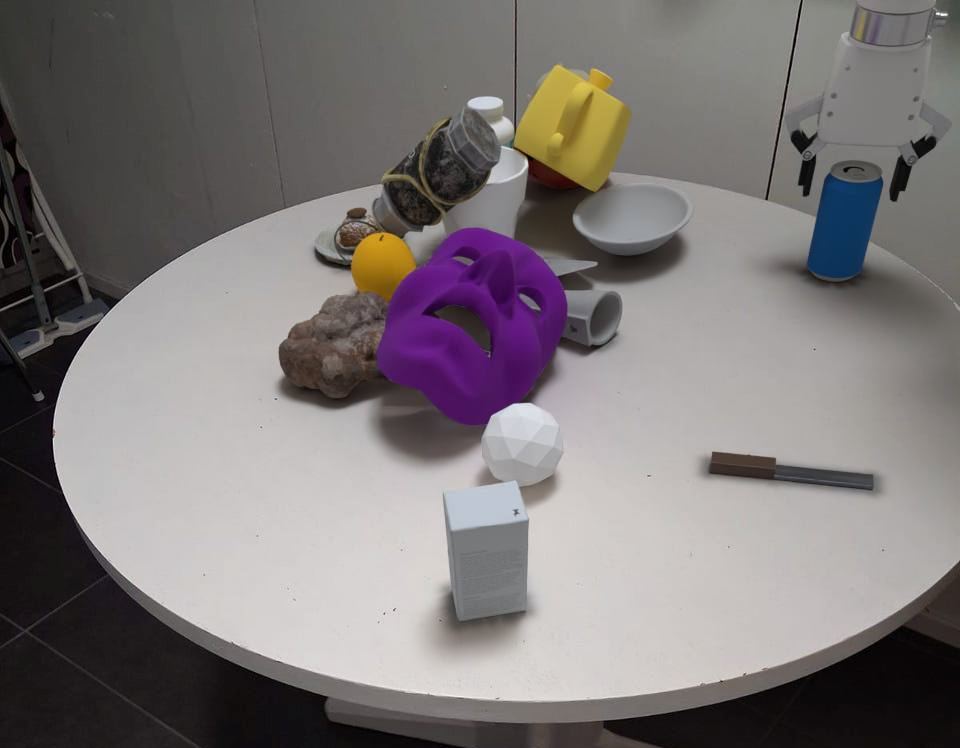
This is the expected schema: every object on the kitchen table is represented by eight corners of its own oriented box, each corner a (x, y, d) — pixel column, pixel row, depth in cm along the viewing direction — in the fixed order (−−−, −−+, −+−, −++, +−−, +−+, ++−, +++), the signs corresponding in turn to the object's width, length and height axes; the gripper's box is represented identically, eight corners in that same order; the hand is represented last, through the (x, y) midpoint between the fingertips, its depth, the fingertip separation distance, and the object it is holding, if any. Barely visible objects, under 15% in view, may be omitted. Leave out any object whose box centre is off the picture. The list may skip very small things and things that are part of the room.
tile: (603, 261, 114) (603, 265, 114) (550, 257, 122) (550, 261, 122) (464, 297, 105) (465, 301, 106) (417, 290, 114) (418, 294, 114)
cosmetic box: (516, 572, 82) (519, 478, 72) (527, 612, 80) (531, 520, 70) (448, 583, 82) (441, 489, 72) (456, 623, 80) (450, 532, 70)
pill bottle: (498, 223, 129) (494, 116, 119) (452, 213, 132) (445, 108, 122) (525, 201, 133) (523, 96, 123) (480, 192, 136) (475, 89, 126)
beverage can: (850, 257, 118) (875, 156, 109) (867, 282, 114) (894, 179, 105) (799, 261, 118) (819, 160, 109) (814, 286, 114) (836, 184, 105)
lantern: (458, 85, 105) (323, 217, 121) (449, 126, 101) (310, 257, 117) (511, 143, 110) (374, 263, 126) (504, 184, 106) (364, 302, 122)
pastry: (401, 266, 122) (397, 230, 119) (309, 269, 123) (303, 234, 119) (408, 224, 130) (404, 190, 127) (322, 228, 131) (316, 194, 127)
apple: (355, 282, 120) (345, 223, 114) (417, 276, 120) (410, 217, 115) (356, 314, 115) (346, 254, 109) (420, 308, 115) (414, 247, 109)
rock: (429, 363, 113) (422, 275, 108) (458, 388, 104) (453, 292, 98) (277, 383, 109) (263, 292, 104) (293, 412, 99) (278, 313, 94)
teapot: (529, 151, 130) (571, 62, 125) (607, 196, 130) (652, 109, 125) (499, 138, 113) (547, 33, 107) (589, 191, 113) (641, 88, 107)
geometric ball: (578, 405, 85) (562, 492, 86) (560, 416, 93) (545, 496, 94) (497, 387, 84) (480, 476, 85) (485, 400, 92) (470, 482, 93)
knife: (872, 477, 89) (875, 467, 88) (872, 489, 88) (876, 479, 87) (710, 461, 92) (712, 451, 91) (709, 472, 91) (710, 462, 90)
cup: (444, 229, 129) (437, 143, 120) (535, 231, 127) (534, 144, 119) (426, 274, 120) (417, 185, 112) (523, 276, 119) (521, 186, 110)
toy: (521, 85, 138) (518, 197, 142) (502, 52, 124) (499, 177, 128) (625, 81, 135) (618, 196, 139) (617, 47, 121) (610, 175, 125)
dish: (656, 292, 114) (659, 252, 111) (549, 269, 120) (549, 230, 116) (708, 231, 124) (713, 192, 121) (608, 212, 129) (609, 174, 126)
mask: (476, 473, 96) (576, 324, 107) (525, 383, 82) (633, 224, 94) (335, 382, 95) (451, 242, 106) (361, 276, 82) (490, 129, 93)
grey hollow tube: (503, 292, 119) (625, 326, 109) (469, 318, 117) (590, 356, 106) (494, 249, 115) (620, 280, 104) (458, 275, 113) (583, 310, 102)
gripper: (977, 14, 97) (926, 184, 110) (803, 10, 100) (773, 176, 113) (984, 38, 92) (930, 213, 105) (801, 34, 96) (770, 204, 108)
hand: (848, 194), depth 109 cm, fingers open, 9 cm apart
